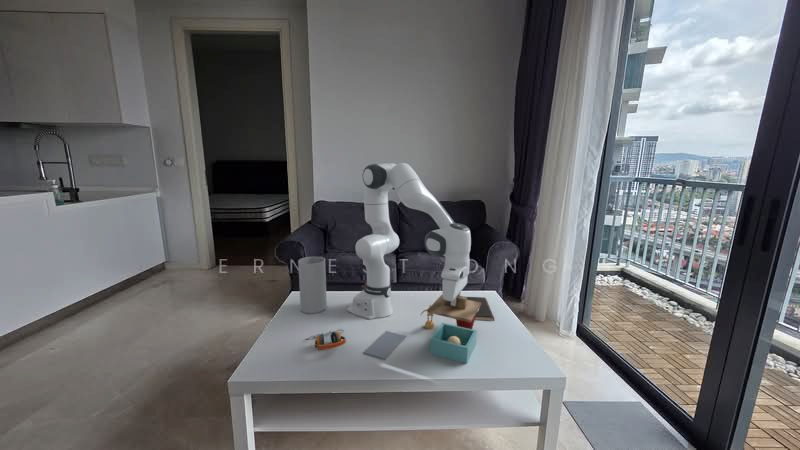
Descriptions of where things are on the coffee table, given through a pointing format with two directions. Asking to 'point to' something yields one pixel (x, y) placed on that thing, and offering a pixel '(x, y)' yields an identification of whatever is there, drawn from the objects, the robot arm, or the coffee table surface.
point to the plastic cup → (466, 323)
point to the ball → (454, 340)
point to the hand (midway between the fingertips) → (455, 303)
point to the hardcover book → (482, 309)
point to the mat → (384, 345)
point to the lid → (455, 308)
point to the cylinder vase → (312, 284)
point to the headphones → (334, 338)
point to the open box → (453, 350)
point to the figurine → (429, 323)
